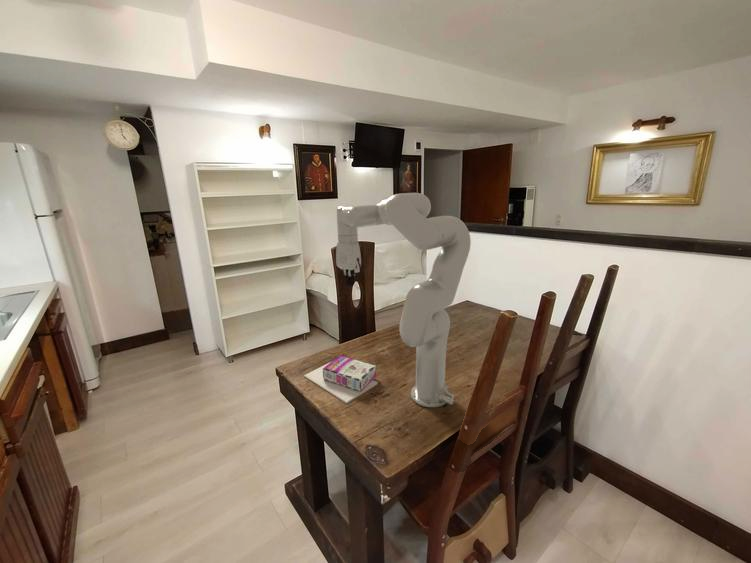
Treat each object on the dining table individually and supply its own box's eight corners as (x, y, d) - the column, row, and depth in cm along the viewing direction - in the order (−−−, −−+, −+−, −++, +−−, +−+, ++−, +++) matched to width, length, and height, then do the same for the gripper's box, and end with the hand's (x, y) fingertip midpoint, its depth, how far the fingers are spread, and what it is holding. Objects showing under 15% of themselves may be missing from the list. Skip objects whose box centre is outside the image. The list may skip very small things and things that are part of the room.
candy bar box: (322, 380, 119) (360, 392, 111) (321, 368, 118) (359, 380, 110) (341, 366, 128) (376, 376, 120) (340, 354, 127) (376, 364, 119)
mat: (377, 383, 117) (377, 382, 117) (346, 403, 107) (346, 402, 107) (335, 361, 133) (334, 359, 133) (304, 376, 123) (304, 375, 122)
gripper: (327, 238, 126) (330, 283, 131) (354, 242, 116) (356, 291, 121) (342, 236, 131) (344, 279, 136) (368, 239, 121) (370, 286, 126)
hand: (350, 284), depth 129 cm, fingers closed
